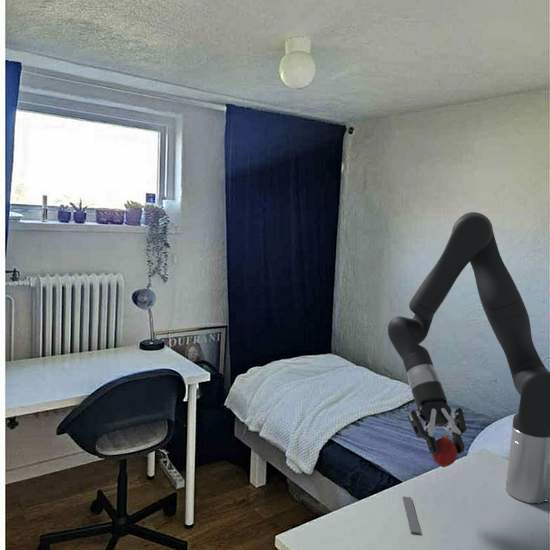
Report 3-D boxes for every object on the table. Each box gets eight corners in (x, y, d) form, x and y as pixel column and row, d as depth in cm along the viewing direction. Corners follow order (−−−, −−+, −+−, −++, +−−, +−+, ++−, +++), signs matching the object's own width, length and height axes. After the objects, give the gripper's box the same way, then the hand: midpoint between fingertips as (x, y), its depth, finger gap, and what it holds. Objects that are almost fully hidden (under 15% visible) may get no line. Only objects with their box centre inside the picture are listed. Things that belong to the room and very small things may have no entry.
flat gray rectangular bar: (410, 498, 121) (411, 497, 121) (420, 534, 107) (420, 532, 107) (402, 497, 121) (402, 496, 121) (411, 533, 108) (411, 531, 108)
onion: (457, 474, 113) (460, 441, 112) (431, 471, 114) (434, 438, 113) (454, 462, 118) (456, 431, 117) (429, 459, 119) (431, 428, 118)
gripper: (405, 381, 119) (427, 450, 109) (458, 378, 123) (484, 445, 112) (394, 394, 125) (414, 461, 115) (444, 391, 128) (468, 456, 118)
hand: (448, 453), depth 114 cm, fingers closed on onion, 5 cm apart
